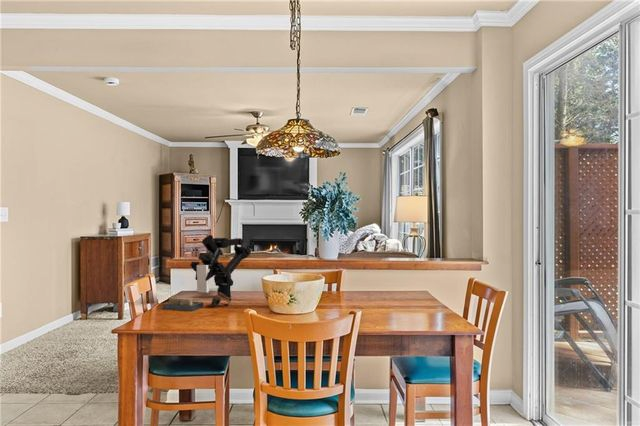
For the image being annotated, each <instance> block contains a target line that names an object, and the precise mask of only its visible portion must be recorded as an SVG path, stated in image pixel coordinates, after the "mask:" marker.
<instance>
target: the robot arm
mask: <svg viewBox="0 0 640 426" xmlns="http://www.w3.org/2000/svg"><path fill="white" fill-rule="evenodd" d="M201 243H202V244H203V246H204V248H205V249H206V251H208V252H199V254H198V257H197V258H198V260H200V261H191V263H190V265H189V266H190V267H191V269H192V270H193V271H194V273H195V276H194V277H195V280H196V281H197V265H208V275H207V277H206V281H207V280H208V281H209V280H210V279H211V278H213V280H214V285H215V286H216V287H217V288H216V290H217V293H216V295H217V294H219V292H220V293H223V294H225V295H227V296H229V297H230V298H232V295H231V287H233V285H234V280H233V279H232V273H233V272H234V271H235V269H237V267H238V266H239V265H240V263H241V262H242V260H244V259H248V257H250V255H251V253H252V251H251V248H250V246H249V244H248V243H247V242H245V241H244V240H243V238H241V237H239V238H237V237H236V238H235V237H234V238H227V237H215V238H214V236H213V235H211V234H208V235H207V236H205V237H204V238H203V239H202V241H201ZM229 246H230V247H231V246H233V250H234V254H235V255H233V257H232V258H231V260H230V261H228V263H227V265H226V266H224V265H223V263H222V262H219V261H218V260H219V258H220V256H223V255H224V253H223V250H222V249H226V248H228V247H229ZM200 262H201V263H202V264H201V263H200Z"/></svg>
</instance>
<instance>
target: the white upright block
mask: <svg viewBox="0 0 640 426" xmlns="http://www.w3.org/2000/svg"><path fill="white" fill-rule="evenodd" d="M208 273H209V269H208V265H197V280H196V292H197V293H206V294H207V293H209V288H210V287H209V286H210V285H209V280H207V281H206V277H207V275H208Z"/></svg>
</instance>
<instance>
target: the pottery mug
mask: <svg viewBox="0 0 640 426" xmlns="http://www.w3.org/2000/svg"><path fill="white" fill-rule="evenodd" d="M221 300H223V301H226V302H227V303H228V304H227V307H229V306H230V307H231V304H232V302H231V301H232V297H229V296H227V295H225V294H223V293H220V292H219V294H217V293H216V295H214V296H213V298H212V300H211V302H210V307H211V308H212V307H213V308H218V307H219V305H220V303H221Z"/></svg>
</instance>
